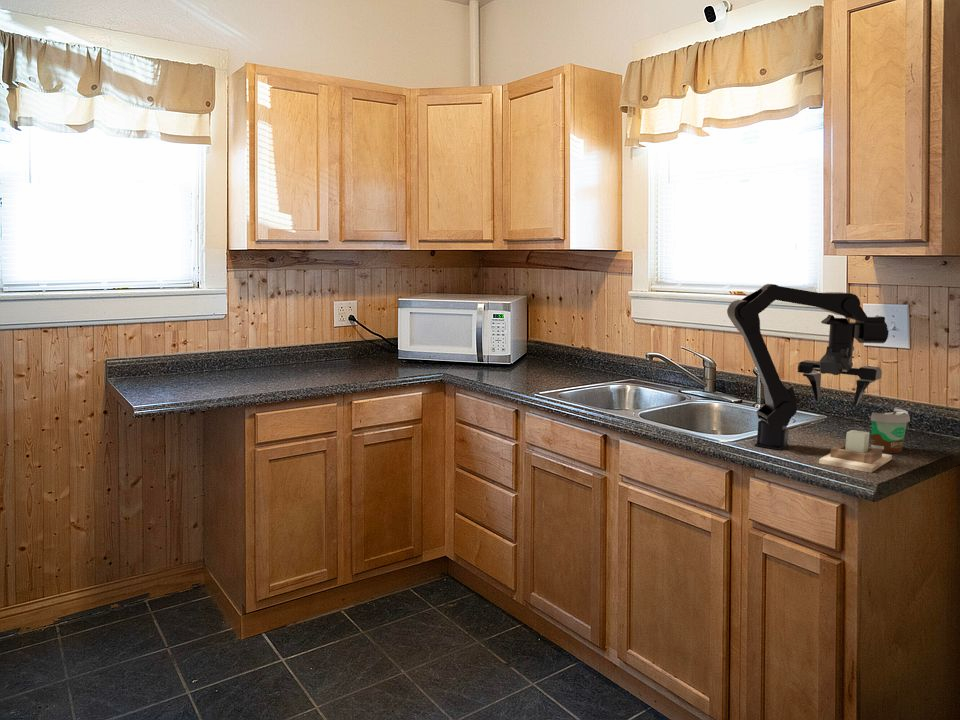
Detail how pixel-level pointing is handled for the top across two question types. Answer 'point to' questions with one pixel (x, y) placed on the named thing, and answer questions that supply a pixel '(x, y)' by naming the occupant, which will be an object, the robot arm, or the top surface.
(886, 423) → the food container
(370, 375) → the top surface
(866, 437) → the pale green block
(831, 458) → the post base
